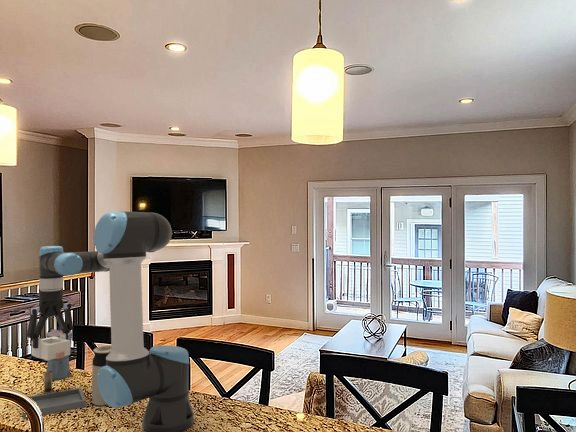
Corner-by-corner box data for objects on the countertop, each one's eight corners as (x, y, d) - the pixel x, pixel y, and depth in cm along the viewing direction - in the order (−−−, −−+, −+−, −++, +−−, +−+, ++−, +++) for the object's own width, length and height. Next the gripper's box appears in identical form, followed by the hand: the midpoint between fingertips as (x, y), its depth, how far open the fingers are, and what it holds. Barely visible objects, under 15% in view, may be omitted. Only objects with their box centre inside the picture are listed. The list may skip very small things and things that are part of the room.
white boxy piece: (72, 355, 157) (72, 341, 157) (49, 361, 150) (49, 346, 150) (54, 350, 164) (54, 336, 164) (31, 355, 157) (31, 341, 157)
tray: (86, 406, 148) (86, 400, 148) (22, 418, 138) (23, 412, 138) (81, 393, 159) (81, 387, 159) (22, 403, 149) (22, 397, 149)
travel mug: (86, 405, 149) (87, 351, 149) (100, 396, 157) (101, 344, 157) (109, 407, 148) (110, 352, 148) (121, 397, 156) (122, 346, 156)
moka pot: (57, 383, 168) (58, 330, 168) (33, 376, 175) (34, 325, 176) (80, 376, 176) (80, 325, 176) (56, 369, 184) (57, 320, 184)
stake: (53, 392, 159) (53, 372, 160) (43, 394, 158) (43, 374, 158) (52, 389, 162) (52, 370, 162) (42, 391, 161) (42, 371, 161)
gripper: (73, 285, 169) (73, 346, 168) (14, 292, 151) (14, 359, 151) (84, 287, 164) (84, 349, 164) (25, 294, 147) (24, 363, 147)
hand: (50, 354), depth 157 cm, fingers closed on white boxy piece, 8 cm apart
